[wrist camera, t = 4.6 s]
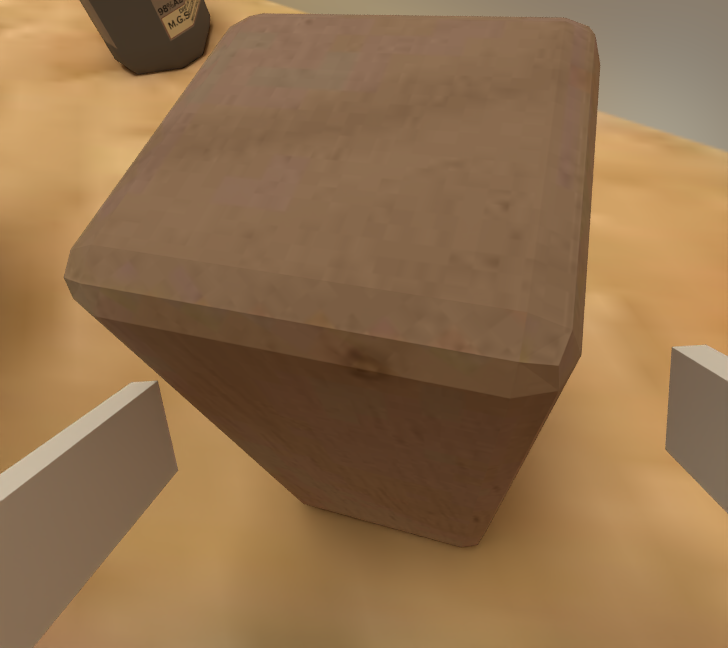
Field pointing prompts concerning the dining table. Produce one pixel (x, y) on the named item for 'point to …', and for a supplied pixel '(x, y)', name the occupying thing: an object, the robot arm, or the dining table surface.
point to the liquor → (151, 31)
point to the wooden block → (364, 253)
